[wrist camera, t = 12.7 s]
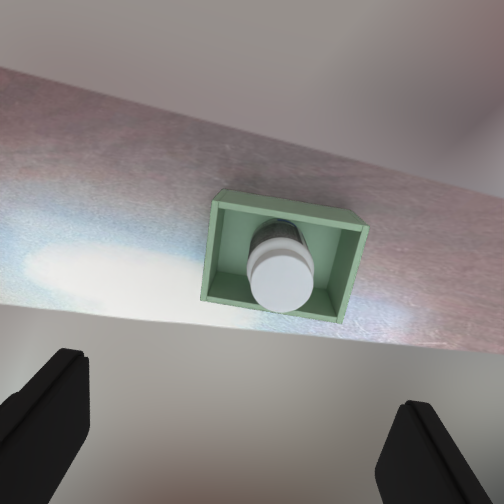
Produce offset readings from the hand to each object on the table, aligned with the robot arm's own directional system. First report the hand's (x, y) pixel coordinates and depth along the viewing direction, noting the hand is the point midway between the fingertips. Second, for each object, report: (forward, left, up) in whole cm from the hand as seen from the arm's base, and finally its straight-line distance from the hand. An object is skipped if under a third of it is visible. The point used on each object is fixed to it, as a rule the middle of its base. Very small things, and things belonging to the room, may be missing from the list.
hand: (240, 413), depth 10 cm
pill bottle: (+1, +2, -20) cm, 20 cm away
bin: (+1, +2, -20) cm, 20 cm away
